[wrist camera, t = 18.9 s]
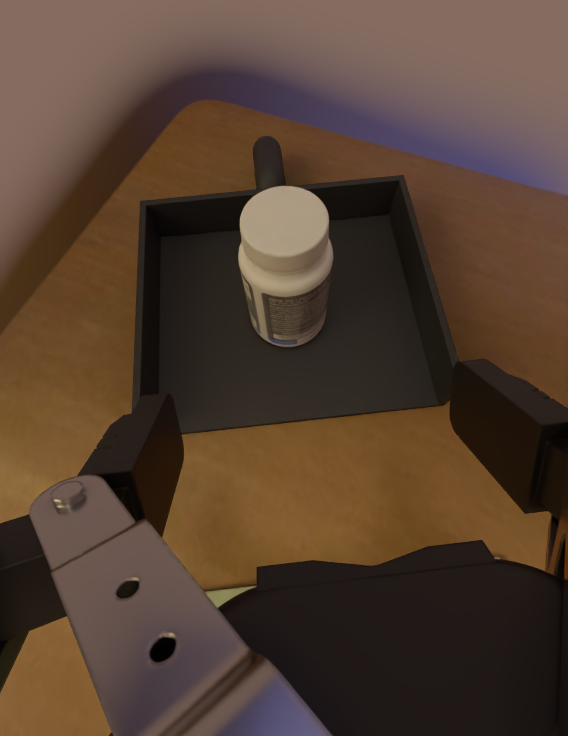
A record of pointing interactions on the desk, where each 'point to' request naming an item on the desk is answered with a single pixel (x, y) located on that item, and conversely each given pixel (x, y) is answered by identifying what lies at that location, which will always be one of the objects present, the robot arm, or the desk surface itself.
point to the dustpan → (303, 362)
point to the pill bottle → (286, 264)
